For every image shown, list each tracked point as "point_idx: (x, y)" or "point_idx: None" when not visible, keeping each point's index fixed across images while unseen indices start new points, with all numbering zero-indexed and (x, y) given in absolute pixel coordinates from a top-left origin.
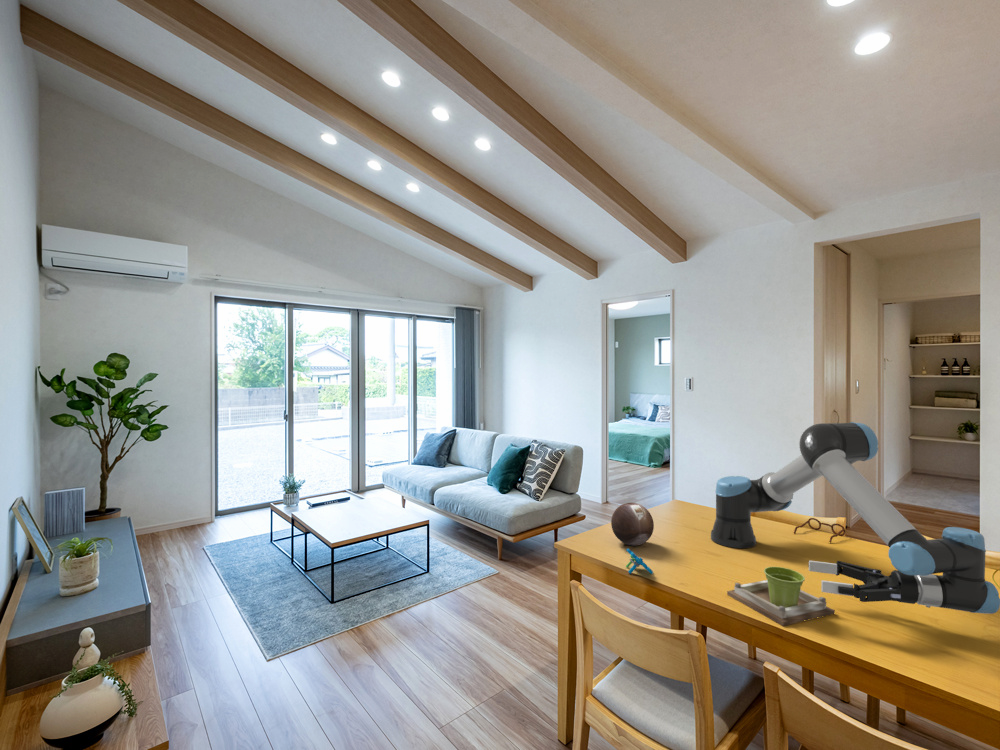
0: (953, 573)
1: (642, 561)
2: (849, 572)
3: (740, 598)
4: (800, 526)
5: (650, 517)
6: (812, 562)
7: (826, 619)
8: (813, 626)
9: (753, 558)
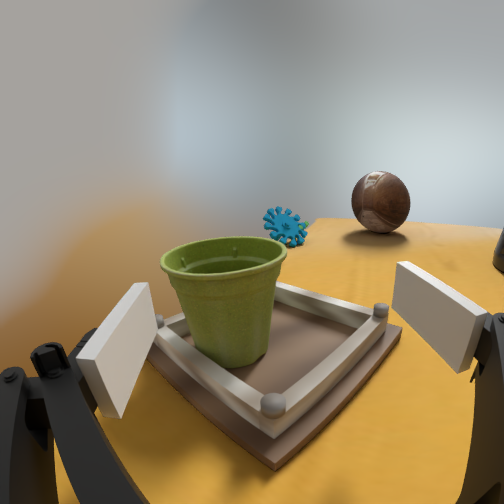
0: None
1: (283, 226)
2: (486, 393)
3: None
4: None
5: (388, 189)
6: (402, 269)
7: (208, 441)
8: (145, 400)
9: (499, 293)
